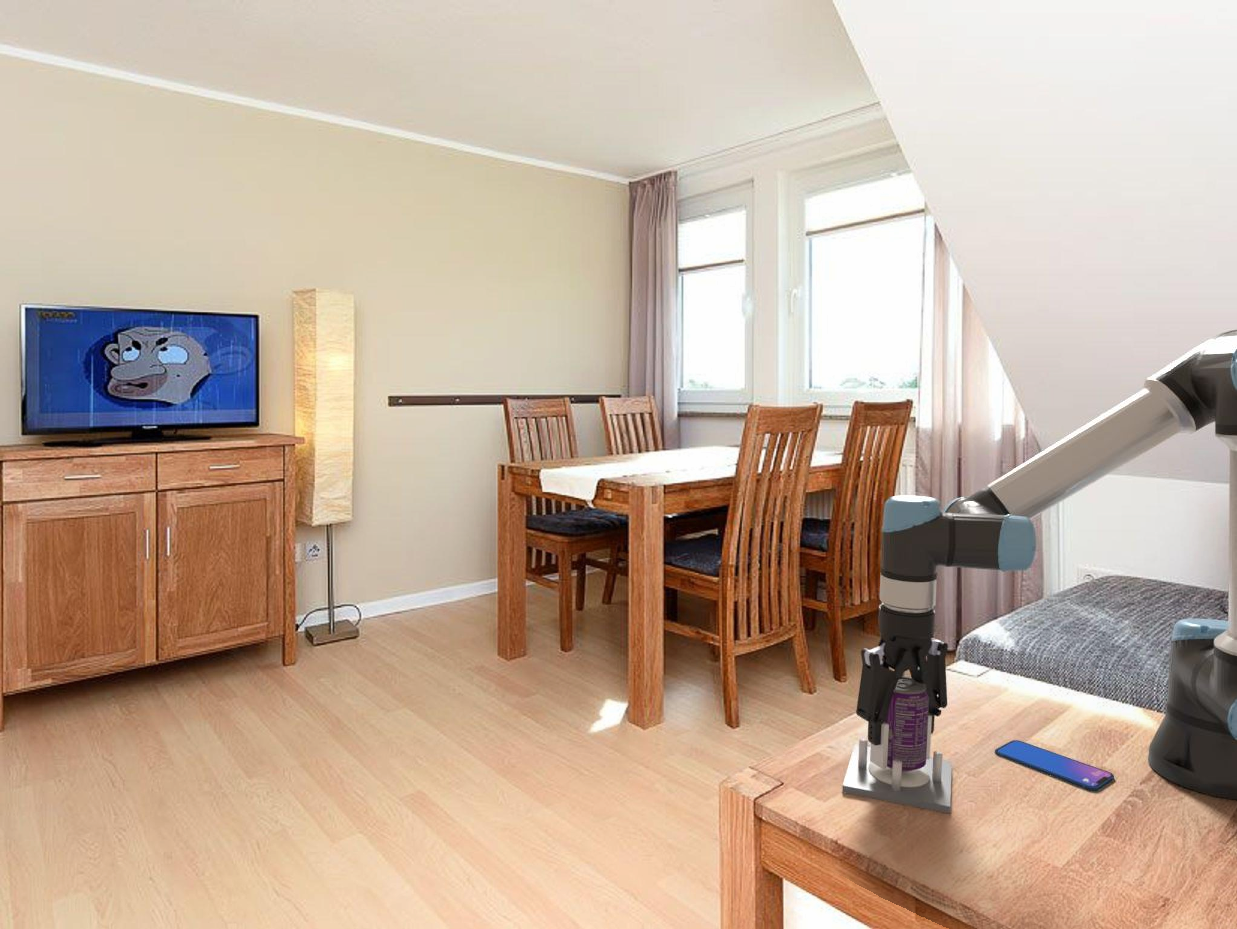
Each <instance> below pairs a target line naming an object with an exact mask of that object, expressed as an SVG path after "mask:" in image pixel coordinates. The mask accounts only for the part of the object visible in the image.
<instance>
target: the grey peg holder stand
mask: <svg viewBox="0 0 1237 929" xmlns="http://www.w3.org/2000/svg"><path fill="white" fill-rule="evenodd" d="M868 743H869V741H868V738H864V737H861V738H859V739H858V743H855V744H854V745H853V750H852V753H851V756H850V760H849V763H848V766H847V770H846V771H845V777H844V779H843V783H842V788H841V789H842V790H841V791H842V793H846V794H849V795H850V794H851V795H855V796H861V797H865V798H871V799H875V800H881V801H886V802H890V803H894V804H901V805H905V806H909V807H915V808H921V809H926V810H929V811H934V812H941V813H945V814H951V797H952V796H951V795H952V770H953V769H952V766H953V764H952V760H949V759H944V758H943V752H941V751H940V750H939V751H938V750H935V751H933V757H931V756H930V759H927V760H926V765H925V766H924V767H922V768H920V769H917V770H913V771H902V761H900V760H893V769H890V768H888V767H887V768H886V769H882V768H880V767H879V766H877V765H876V764H874V763H873V762H871V761H870V750H871V745H870V746H868Z"/></svg>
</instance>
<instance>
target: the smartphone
mask: <svg viewBox="0 0 1237 929" xmlns="http://www.w3.org/2000/svg"><path fill="white" fill-rule="evenodd" d="M994 754H995V755H996V756H998V757H1001V758H1003V759H1007V760H1009V761H1011V762H1014V763H1017V764H1019V765H1021V766H1024V767H1026V768H1028V769H1032V770H1034V769H1035V770H1034V771H1037V772H1039V771H1040V773H1042V772H1043V773H1042V774H1044V773H1045V775H1047V774H1048V775H1047V776H1050V775H1051V776H1050V777H1052V778H1055V779H1057V778H1058V780H1060V781H1062V782H1066V783H1068V784H1071V785H1072V786H1075V787H1078V788H1081V789H1082V790H1086V791H1089V792H1099V791H1100V790H1102V789H1103V788H1105V787H1106V786H1107V785H1109V784H1110V783H1112V782H1113V781H1115V774H1114V773H1112V772H1109V771H1108V770H1105V769H1102V768H1099V767H1096V766H1094V765H1090V764H1088V763H1084V762H1083V761H1079V760H1076V759H1073V758H1071V757H1068V756H1065V755H1062V754H1059V753H1056V752H1053V751H1050V750H1047V749H1045V748H1042V747H1039V746H1036V745H1034V744H1031V743H1029V742H1028V743H1027V742H1025V741H1022V740H1019V739H1018V740H1017V739H1013V740H1010V741H1009V742H1007V743H1005V744H1003V745H1000V746H999V747H997V748H995V749H994Z"/></svg>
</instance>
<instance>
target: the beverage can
mask: <svg viewBox="0 0 1237 929" xmlns="http://www.w3.org/2000/svg"><path fill="white" fill-rule="evenodd" d="M925 690H926V685H925V684H922V683H918V682H916V681H915V680H914V679H912V678H911V676H910V677H909V676H905V675H904V676H902V678H901V679H900V680H898V682H897V685H896V688H895V689H894V690H893V692H894V694H893V697H892V699H891V701H890V706H889V709H888V712H887V715H886V718H885V720H884V722H886V723H888V724H889V733H888V756H887V767H888V768H890V769H893V760H900V761H902V771H913V770H917V769H920V768H922V767H924V766H925V765H926V753H927V732H928V711H929V697H928V695H927V693H926V691H925ZM876 713H877V712H876Z"/></svg>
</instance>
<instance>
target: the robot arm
mask: <svg viewBox="0 0 1237 929" xmlns="http://www.w3.org/2000/svg"><path fill="white" fill-rule="evenodd" d="M1142 387H1143V388H1142V390H1140V391H1138V392H1137V393H1136V394H1134V395H1132V396H1131V397H1129V398H1127V399H1126V400H1124V401H1123V402H1120V403H1119V404H1118V405H1116V406H1114V407H1113V408H1111V409H1109V410H1108V411H1106V412H1104V413H1102V414H1101V415H1099V416H1098V417H1097V418H1095V419H1093V420H1092V421H1090V422H1088V423H1087V424H1085V425H1083V426H1081V427H1080V428H1078V429H1077V430H1075V431H1073V432H1072V433H1070V434H1069V435H1067V436H1065V437H1064V438H1062V439H1061V440H1059V441H1057V442H1056V443H1054V444H1053V445H1051V446H1049V447H1048V448H1046V449H1045V450H1043V451H1041V452H1039V453H1038V454H1036V455H1035V456H1033V457H1031V458H1029V459H1028V460H1027V461H1024V462H1023V463H1022V464H1020V465H1018V466H1017V467H1015V468H1013V469H1012V470H1010V471H1009V472H1007V473H1005V474H1004V475H1001V476H1000V477H998V478H997V479H995V480H994V481H992V482H991V483H989V484H987V485H986V486H984V487H983V488H981V489H979V490H978V491H976V492H974V493H973V494H970V495H969V496H962V497H957V498H954V499H953V500H951V501H950V502H949V503H948V504H947V505H946V506H945V507H944V510H942V508H941V502H940V501H939V499H937V498H935V497H930V496H926V495H925V496H924V495H913V494H910V495H909V494H905V495H904V494H902V495H894V496H890V497H889V498H888V499H887V500H886V501H885V502H884V505H883V516H882V526H881V550H880V551H881V552H880V553H881V554H880V555H881V556H880V578H879V583H880V584H879V585H880V586H879V600H880V601H881V604H879V606H878V622H877V625H878V629H879V632H880V639H879V641H878V644H877V647H876V646H875V647H873V648H872V649H868V648H866V647H864V648H862V649H861V651H860V655H861V662H862V667H861V675H860V683H859V689H858V696H857V705H856V710H855V712H856V713H855V714H856V716H858V717H859V718H861V719H863V720H864V721H866V722H868V723H867V740H868V743H870V747H871V750H870V761H871V762H873V763H874V764H876V765H877V766H879V767H880V768H882V769H886V768H887V756H888V733H889V724H888V723H886V722H884V720H885V718H886V715H887V712H888V709H889V706H890V701H891V699H892V697H893V694H894V692H893V690H894V689H895V688H896V685H897V682H898V680H900V679H901V678H902V676H903V673H904V672H906V671H909V673H910V677H911V678H912V679H914V680H915V681H916V682H918V683H922V684H925V685H926V690H925V691H926V693H927V695H928V697H929V711H928V732H927V753H926V760H927V759H930V757H931V742H932V735H933V734H934V731H935V717H940V716H941V715H942V709H945V708H947V706H948V692H947V691H948V690H947V668H946V665H947V664H946V656H947V652H948V649H949V645H948V643H947V642H944V641H942V640H939V639H938V638H935V637H932V636H933V635H934V633H935V623H936V621H935V620H936V610H935V609H934V607H935V606H936V605H937V604H936V602H937V580H938V567H947V568H948V567H949V568H951V567H952V568H965V569H978V570H990V571H991V570H993V571H1001V572H1007V571H1009V572H1010V571H1011V572H1012V571H1027V570H1028V569H1030V568H1031V567H1032V565H1033V564H1034V562H1035V558H1036V553H1037V534H1036V528H1035V525H1034V523H1033V520H1032V519H1034V518H1036V517H1038V516H1039V515H1042V513H1045V512H1046V511H1047V510H1049V509H1052V508H1053V507H1054V506H1056V505H1058V504H1060V503H1061V502H1063V501H1065V500H1066V499H1068V498H1070V497H1072V496H1073V495H1074V494H1077V493H1078V492H1080V491H1082V490H1083V489H1085V488H1087V487H1088V486H1089V487H1090V485H1091V484H1094V483H1096V482H1097V481H1099V480H1100V479H1103V478H1104V477H1106V476H1107V475H1109V474H1111V473H1112V472H1114V471H1115V470H1118V469H1119V468H1121V467H1123V466H1124V465H1126V464H1128V463H1130V462H1131V461H1133V460H1134V459H1135V460H1136V458H1138V457H1140V456H1141V455H1143V454H1145V453H1147V452H1148V451H1150V450H1152V449H1153V448H1155V447H1157V446H1158V445H1160V444H1162V443H1163V442H1166V441H1167V440H1169V439H1171V438H1172V437H1173V436H1175V435H1177V434H1179V433H1180V434H1189V435H1190V434H1191V435H1192V434H1194V433H1195V432H1197V431H1199V430H1200V429H1202V428H1204V427H1205V426H1207V425H1210V424H1212V423H1214V425H1215V426H1214V434H1215V437H1217V438H1218V439H1219V440H1220V441H1221V442H1222V443H1223V444H1225V445H1226V446H1227V447H1228V449H1229V488H1228V489H1229V490H1228V492H1229V495H1228V496H1229V501H1228V502H1229V504H1228V505H1229V506H1228V509H1229V511H1228V519H1229V520H1228V619H1227V620H1225V619H1224V620H1223V619H1222V620H1221V619H1214V618H1213V619H1212V618H1211V619H1210V618H1183V619H1180V620H1178V621H1177V622H1176V623H1175V624H1174V626H1173V631H1172V635H1171V638H1170V642H1169V643H1171V644H1170V645H1171V646H1170V658H1169V667H1168V668H1169V669H1168V670H1169V671H1168V681H1167V682H1168V683H1167V684H1168V685H1167V696H1166V697H1167V698H1166V709H1165V710H1166V711H1165V715H1164V717H1163V719H1162V721H1161V722H1160V725H1159V727H1158V728H1157V730H1156V732H1155V733H1154V736H1153V738H1152V740H1151V741H1150V743H1149V746H1148V756H1147V762H1148V764H1149V766H1150V767H1151V769H1152V770H1154V771H1155V772H1156V773H1157V774H1159V775H1160V776H1161V777H1163V778H1165V779H1167V780H1169V781H1170V782H1172V783H1175V784H1177V785H1180V786H1182V787H1184V788H1187V789H1189V790H1192V791H1195V792H1199V793H1201V794H1204V795H1205V794H1206V795H1210V796H1213V797H1217V798H1218V797H1219V798H1223V799H1230V800H1237V329H1234V330H1233V329H1232V330H1228V331H1225V332H1222V333H1219V334H1216V335H1215V336H1212V337H1211V338H1209V339H1207V340H1205V341H1203V342H1202V343H1200V344H1199V345H1197V346H1195V347H1194V348H1192V349H1191V350H1189V351H1187V352H1186V353H1185V354H1183V355H1181V356H1180V357H1178V358H1177V359H1175V360H1174V361H1172V362H1171V363H1169V364H1168V365H1166V366H1165V367H1163V368H1162V369H1160V370H1158V371H1157V372H1156V373H1154V374H1152V375H1151V376H1149V377H1147V378H1145V380H1144V383H1143V386H1142ZM941 708H942V709H941ZM876 712H877V713H876Z"/></svg>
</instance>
